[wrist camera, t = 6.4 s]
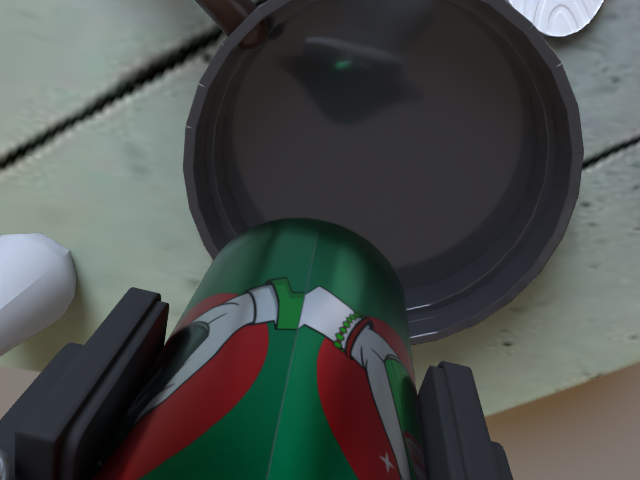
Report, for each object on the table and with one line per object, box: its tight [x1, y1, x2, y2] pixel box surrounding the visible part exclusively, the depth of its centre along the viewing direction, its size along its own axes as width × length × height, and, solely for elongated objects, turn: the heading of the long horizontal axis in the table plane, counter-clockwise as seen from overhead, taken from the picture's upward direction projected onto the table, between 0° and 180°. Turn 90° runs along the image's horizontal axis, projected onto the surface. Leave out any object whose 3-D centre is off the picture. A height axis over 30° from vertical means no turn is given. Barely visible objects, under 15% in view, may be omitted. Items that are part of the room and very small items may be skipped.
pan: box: [183, 0, 584, 345], centre depth 28 cm, size 18×18×4 cm
